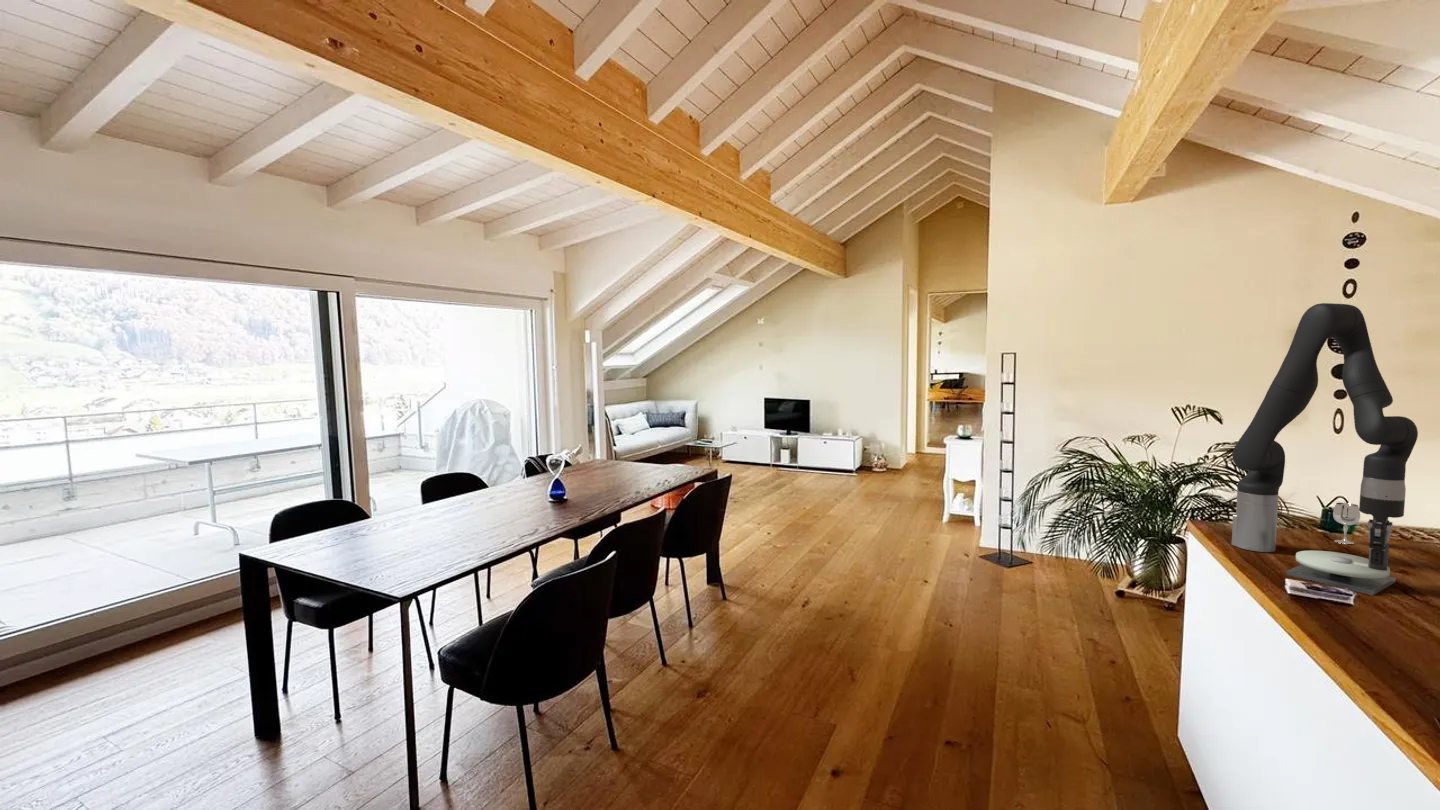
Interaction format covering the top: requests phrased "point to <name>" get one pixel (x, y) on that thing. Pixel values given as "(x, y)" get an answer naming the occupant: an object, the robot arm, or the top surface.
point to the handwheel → (1344, 563)
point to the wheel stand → (1342, 580)
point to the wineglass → (1346, 517)
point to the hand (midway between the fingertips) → (1377, 562)
